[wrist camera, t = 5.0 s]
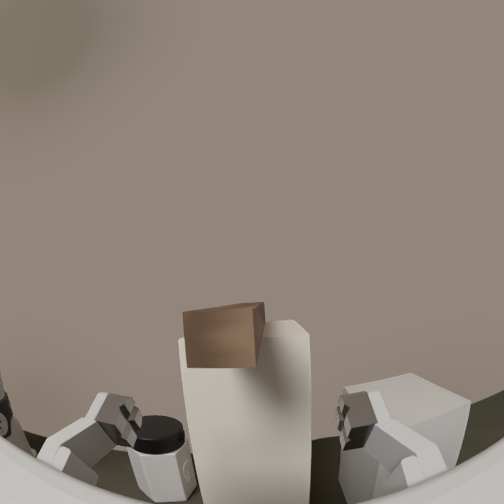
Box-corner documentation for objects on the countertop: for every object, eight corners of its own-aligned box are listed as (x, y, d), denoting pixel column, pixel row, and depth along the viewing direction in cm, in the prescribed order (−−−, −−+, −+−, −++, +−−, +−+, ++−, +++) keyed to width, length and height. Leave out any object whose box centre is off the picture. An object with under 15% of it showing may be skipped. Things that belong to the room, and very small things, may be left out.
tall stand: (214, 543, 15) (178, 339, 20) (230, 483, 29) (214, 324, 34) (305, 543, 15) (309, 333, 19) (297, 481, 29) (293, 319, 33)
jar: (182, 510, 22) (165, 445, 24) (131, 495, 23) (110, 431, 25) (203, 478, 30) (193, 418, 32) (157, 469, 32) (144, 410, 34)
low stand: (360, 538, 14) (383, 433, 16) (338, 479, 27) (343, 386, 30) (437, 510, 13) (471, 401, 16) (398, 464, 27) (410, 372, 30)
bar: (187, 367, 11) (182, 311, 11) (240, 323, 32) (239, 303, 33) (256, 367, 11) (252, 309, 11) (265, 322, 32) (263, 302, 33)
